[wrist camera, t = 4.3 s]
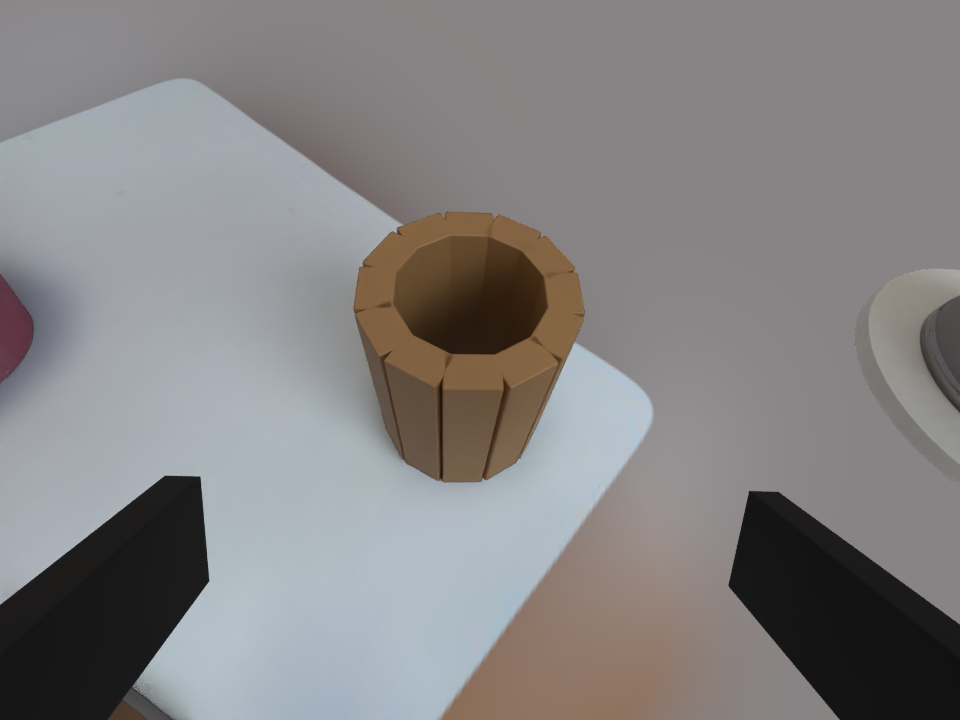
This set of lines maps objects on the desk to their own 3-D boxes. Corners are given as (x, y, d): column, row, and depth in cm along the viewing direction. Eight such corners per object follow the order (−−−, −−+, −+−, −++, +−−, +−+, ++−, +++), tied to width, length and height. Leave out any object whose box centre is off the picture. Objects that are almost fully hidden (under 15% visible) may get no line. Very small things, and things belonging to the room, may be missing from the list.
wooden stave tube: (557, 385, 31) (614, 262, 21) (492, 512, 26) (523, 434, 16) (436, 326, 33) (433, 186, 22) (356, 434, 28) (305, 319, 18)
